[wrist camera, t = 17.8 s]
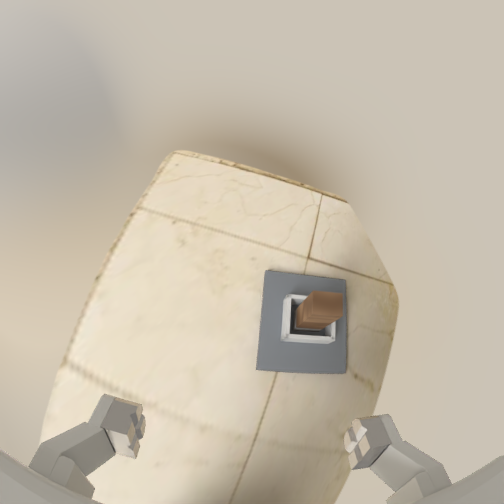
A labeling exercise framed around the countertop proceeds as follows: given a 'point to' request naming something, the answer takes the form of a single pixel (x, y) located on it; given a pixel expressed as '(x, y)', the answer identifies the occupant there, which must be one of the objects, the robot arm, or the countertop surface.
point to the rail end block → (318, 311)
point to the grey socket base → (299, 342)
